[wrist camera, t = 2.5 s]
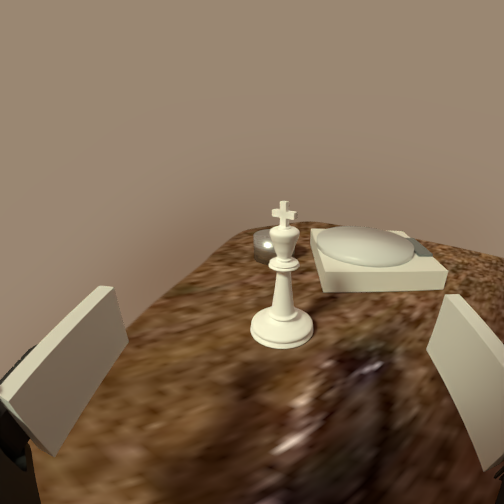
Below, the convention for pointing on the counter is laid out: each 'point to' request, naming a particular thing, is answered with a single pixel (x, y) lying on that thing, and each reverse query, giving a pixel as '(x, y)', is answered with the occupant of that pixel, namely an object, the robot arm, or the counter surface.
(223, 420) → the counter surface
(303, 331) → the chess piece
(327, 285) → the scale
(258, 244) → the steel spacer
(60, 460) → the counter surface
